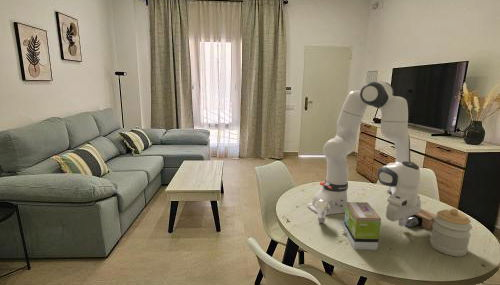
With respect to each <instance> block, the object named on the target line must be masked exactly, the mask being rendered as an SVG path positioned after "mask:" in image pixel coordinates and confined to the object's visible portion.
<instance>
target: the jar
mask: <svg viewBox="0 0 500 285" xmlns="http://www.w3.org/2000/svg"><path fill="white" fill-rule="evenodd" d="M435 215H436V216H434V221H435V222H434V223H433V225H432V226H433V227H432V229H431V233H430V234H431V235H430V236H429V243H430V246H431V247H432V248H433V249H434V250H436V251H438V252H440V253H442V254H444V255H448V256H452V257H464V256H466V254H467V252H468V250H469V248H468V247H469V242H470V237H471V235H472V234H471V232H470V231H472V230H473V226H472V224H471V221H472V220H471V219H470V218H469V217H467V216H466V214H465V213H462V212H459V210H458V209H457V208H451V209H442V210H439V211H437V213H436V214H435Z"/></svg>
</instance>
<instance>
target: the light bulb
mask: <svg viewBox="0 0 500 285" xmlns="http://www.w3.org/2000/svg"><path fill="white" fill-rule="evenodd" d="M315 209H316V211H317V213H316V214H317V221H318V222H319V224H323V223H325V221H326V220H325V219H326V216H327V215H326V214H327V213H328V212H329V209H330V205H329V203H328V202H327V201H326V200H324V199H320V200H318V201H317V202H316V204H315Z"/></svg>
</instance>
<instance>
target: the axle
mask: <svg viewBox="0 0 500 285" xmlns="http://www.w3.org/2000/svg"><path fill="white" fill-rule="evenodd" d="M422 220H423V218H421V217H418V216H414V217H411V218H408V220H407V222H406V225H404V227H405V228H408V229H409V228H412V227H413V228H414V227H416V226H418V225H422Z"/></svg>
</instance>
